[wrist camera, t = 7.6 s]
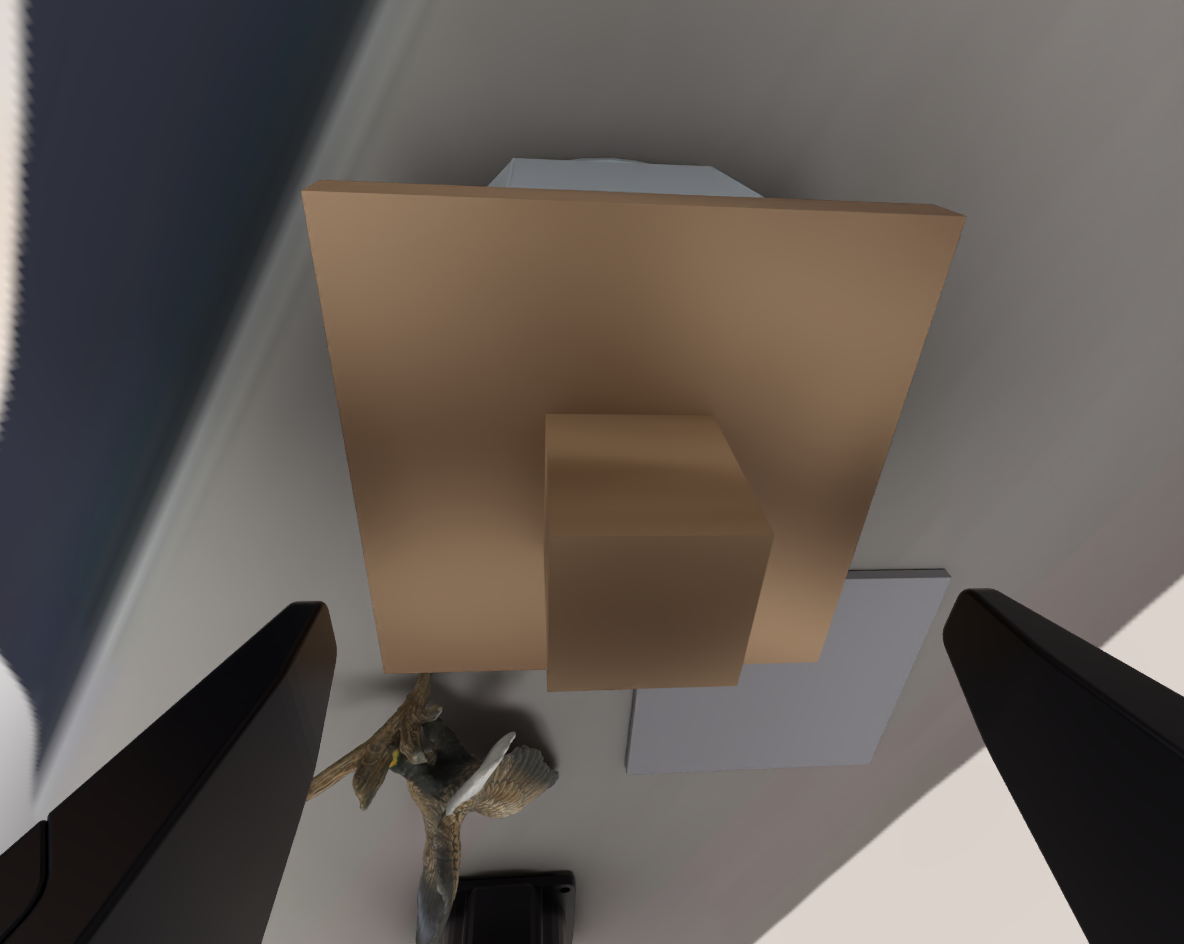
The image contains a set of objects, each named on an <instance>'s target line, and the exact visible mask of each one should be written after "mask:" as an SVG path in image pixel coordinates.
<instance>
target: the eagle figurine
mask: <svg viewBox="0 0 1184 944" xmlns="http://www.w3.org/2000/svg"><path fill="white" fill-rule="evenodd" d="M429 679H430V673H420V675H419V678H418V680H417V683H416V686H415V688H414V690H413V691H412V692H411V693H409V694H408V695H407V697H406V700H405V701H404V703H403V704H402V705H401V706H400V707H399V708H398V710H397V712H395V713H394V714H393V715H392V716H391V717H390V718H389V719H388V720H387V722H386V723H385V724H384V725H383V726H382V727H381V728H380V729H379V730H378V731H377V732H376V733H375V734H374V735H373V736H372V737H371V738H370V739H369V740H367V741H366V742H365V743H363V744H361V745H360V746H358V747H357V748H355V749H354V750H353V751H351V752H350V753H348V754H347V755H345V756H344V757H342V758H341V759H340V760H338V761H337V762H335V763H334V764H332V765H331V766H329V767H328V768H326V769H325V770H324V771H322V772H321V773H320V774H318V775H317V776H315V777H314V778H312V782H311V785H310V789H309V792H308V795H307V798H306V801H308V800H310V799H312V798H313V797H315V796H317V795H319V794H321V793H322V792H324V791H325V790H327V789H328V788H329V787H331V786H333V785H334V784H335V783H336V782H338V781H339V780H340V779H342V778H343V777H344V776H346V775H347V774H349V773H351V772H354V771H356V772H355V774H354V778H353V788H354V791H355V793H356V795H357V797H358V798H359V800H360V809H361V810H363V811H365V810H366V809H367V808H368V806H369V805H370V803H371V801H372V799H373V798H374V796H375V795H376V793H377V791H378V789H379V788H380V786H381V785H382V783H383V782H384V779H385V776H386V774H387V771H388V769H390V770H391V771H393V772H395V773H398V774H400V775H402V776H403V777H404V778H405V779H406V780H407V785H408V789H409V792H410V794H411V797H412V799H413V800H414V802H415V803H416V805H417V806H418V807H419V808H420V810H421V812H422V816H423V819H424V823H425V830H426V844H425V848H424V855H423V872H422V876H421V879H420V884H419V888H418V896H417V901H418V918H417V932H416V944H438V941H439V939H440V937H441V935H442V932H443V930H444V928H445V925H446V923H447V920H448V917H449V914H450V911H451V907H452V903H453V900H454V899H455V894H456V892H457V886H458V882H459V870H460V856H461V854H460V850H461V844H460V826H461V823H462V822H463V820H464V818H465V816H466V815H467V813H468V812H469V811H476V812H478V813H480V814H482V815H484V816H488V817H491V818H505V817H506V816H508V815H512V814H515V813H517V812H519V811H521V810H522V809H523V807H524V806H526V805H527V804H528V803H530V802H531V801H532V800H534V799H535V798H536V797H538V796H539V795H540V794H542V793H543V792H544V791H545V790H546V789H548V788H550V787H551V786H552V785H554V784H555V782H556V780H557V779H558V777H559V775H558V772H555V771H554V769H550V768H549V766H547V763H546V762H543V756H542V755H541V751H540V750H536V748H529V747H528V746H527V745H523V746H521V747H516V748H514V750H513V751H512V752H511V753H510V754H505V753H506V751H507V750H508V748H509V746H510V743H511V742H512V741H513V739H514V738H515V736H516V735H515V732H510V733H508V734H506V735H505V736H504V737H503V738H501V739H500V740H499V741H498V742H497V743H496V744H495V745H494V746H493V747H492V749H491V750H490V751H489V752H488V754H487V755H486V756H485V757H483V758H481V759H479V758H477V757H476V756H475V755H473V754H470V753H469V752H468V751H466V749H465V748H464V747H463V746H461V745H460V741H459V740H458V738H457V736H456V735H455V733H454V732H453V731H452V730H450V729H449V728H448V727H447V726H446V725H445V724H444V723H443V721H442V720H441V719H440V718H439V715H440V714H441V712H442V710H443V709H442V707H441V706H440V705H436V704H435V705H432V706H431V707H429V709H428V710H427V711H426V710H425V709H424V708H425V706H426V704H427V703H428V702H429V699H430V696H431V691H430V686H429V684H430V680H429ZM421 726H422V728H423V731H424V734H425V736H426V738H427V739H428V741H429V742H430V744H431V746H432V751H433V752H429V753H424V751H423V748H422V745H421Z"/></svg>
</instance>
